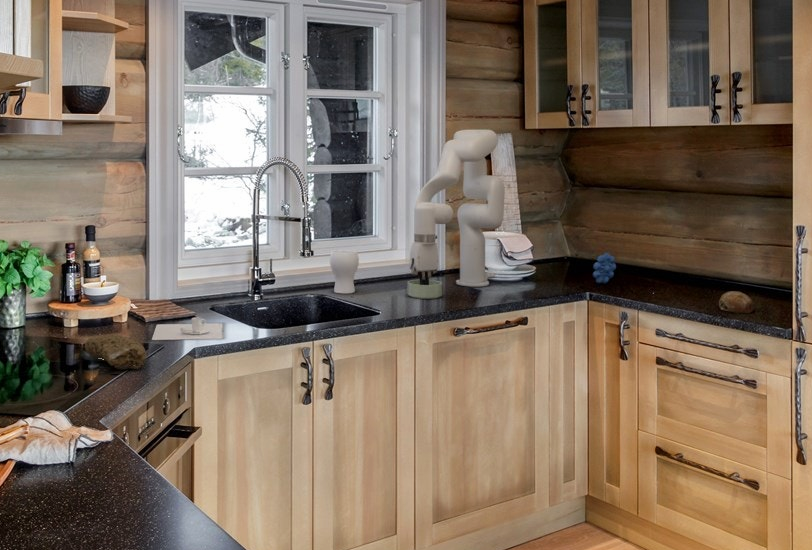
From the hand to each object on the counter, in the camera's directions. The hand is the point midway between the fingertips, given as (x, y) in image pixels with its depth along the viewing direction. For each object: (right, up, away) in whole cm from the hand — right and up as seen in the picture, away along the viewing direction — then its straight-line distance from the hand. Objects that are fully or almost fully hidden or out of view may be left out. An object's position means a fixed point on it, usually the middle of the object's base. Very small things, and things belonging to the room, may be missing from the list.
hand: (424, 289), depth 302 cm
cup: (-28, -2, +9) cm, 30 cm away
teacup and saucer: (-79, -4, -54) cm, 96 cm away
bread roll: (+98, -3, -26) cm, 101 cm away
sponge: (-94, -5, -88) cm, 129 cm away
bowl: (0, -2, 0) cm, 2 cm away
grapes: (+74, -2, +25) cm, 78 cm away
